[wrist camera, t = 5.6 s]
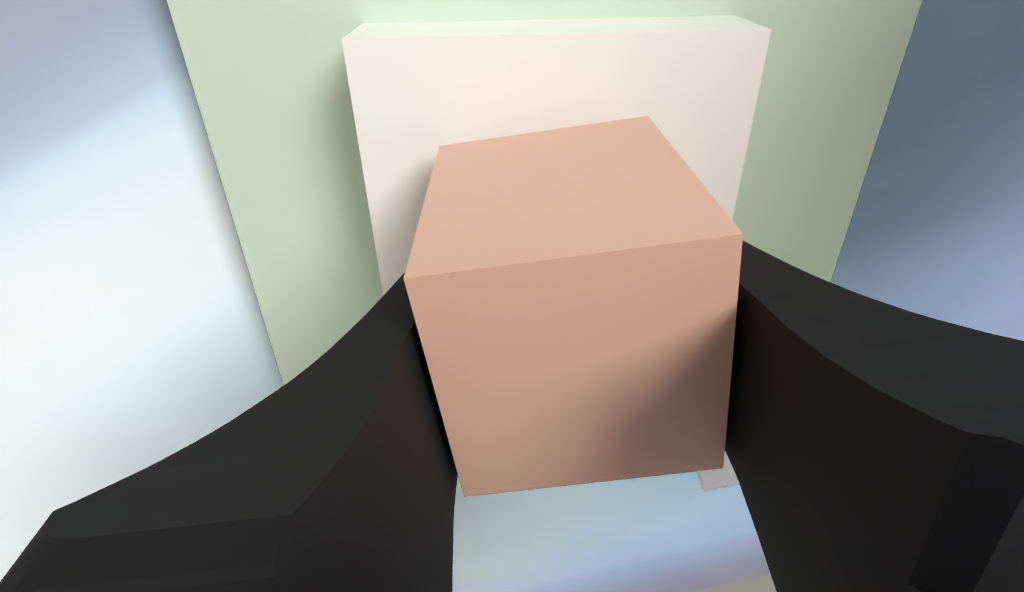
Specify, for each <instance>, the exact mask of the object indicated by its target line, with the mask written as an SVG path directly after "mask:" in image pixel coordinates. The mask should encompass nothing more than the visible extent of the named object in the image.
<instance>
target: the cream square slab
mask: <svg viewBox="0 0 1024 592" xmlns="http://www.w3.org/2000/svg"><path fill="white" fill-rule="evenodd" d="M771 30H772V29H769V28H767V27H764V26H762V25H759V24H756V23H754V22H751V21H748V20H746V19H743V18H740V17H738V16H735V15H723V16H678V17H633V18H589V19H544V20H499V21H454V22H409V23H364V24H361V25H360V26H358V27H357V28H356V29H354V30H353V31H352V32H350V33H349V34H348V35H346V36H345V37H343V38H342V39H341V40H342V46H343V52H344V58H345V64H346V70H347V76H348V83H349V89H350V95H351V101H352V107H353V113H354V119H355V125H356V132H357V138H358V144H359V150H360V156H361V162H362V168H363V174H364V181H365V187H366V193H367V199H368V205H369V211H370V217H371V223H372V230H373V236H374V242H375V248H376V254H377V260H378V266H379V272H380V279H381V285H382V291H383V295H384V294H385V293H386V292H387V291H388V290H389V289H390V288H391V287H392V286H393V284H394V283H395V282H396V281H397V280H398V279H399V278H400V277H401V276H402V274H403V273H404V272H405V271H406V267H407V264H408V260H409V256H410V252H411V249H412V245H413V241H414V237H415V234H416V230H417V226H418V222H419V219H420V215H421V211H422V208H423V204H424V200H425V196H426V193H427V189H428V185H429V181H430V178H431V174H432V170H433V166H434V163H435V159H436V155H437V152H438V148H439V146H441V145H448V144H455V143H462V142H469V141H476V140H483V139H490V138H497V137H504V136H511V135H518V134H525V133H532V132H539V131H546V130H553V129H559V128H566V127H573V126H580V125H587V124H594V123H601V122H608V121H615V120H622V119H629V118H636V117H643V116H649V118H650V119H651V120H652V121H653V123H654V124H655V125H656V126H657V128H658V129H659V130H660V131H661V133H662V134H663V135H664V136H665V138H666V139H667V140H668V141H669V143H670V144H671V145H672V146H673V148H674V149H675V150H676V151H677V153H678V154H679V155H680V156H681V157H682V159H683V160H684V161H685V162H686V164H687V165H688V166H689V167H690V169H691V170H692V171H693V172H694V174H695V175H696V176H697V177H698V179H699V180H700V181H701V182H702V184H703V185H704V186H705V187H706V189H707V190H708V191H709V192H710V194H711V195H712V196H713V197H714V198H715V200H716V201H717V202H718V203H719V205H720V206H721V207H722V208H723V210H724V211H725V212H726V213H727V215H728V216H729V217H730V218H731V220H732V219H733V214H734V209H735V205H736V200H737V195H738V190H739V185H740V180H741V175H742V171H743V166H744V161H745V156H746V151H747V146H748V141H749V137H750V132H751V127H752V122H753V117H754V112H755V107H756V103H757V98H758V93H759V88H760V83H761V78H762V73H763V68H764V64H765V59H766V54H767V49H768V44H769V39H770V34H771Z"/></svg>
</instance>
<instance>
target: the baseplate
mask: <svg viewBox="0 0 1024 592" xmlns="http://www.w3.org/2000/svg"><path fill="white" fill-rule="evenodd" d="M167 3H168V7H169V10H170V13H171V16H172V20H173V23H174V26H175V30H176V33H177V36H178V39H179V43H180V46H181V49H182V53H183V56H184V59H185V63H186V66H187V69H188V72H189V76H190V79H191V82H192V86H193V89H194V92H195V95H196V99H197V102H198V105H199V109H200V112H201V115H202V118H203V122H204V125H205V128H206V132H207V135H208V138H209V142H210V145H211V148H212V151H213V155H214V158H215V161H216V165H217V168H218V171H219V174H220V178H221V181H222V184H223V188H224V191H225V194H226V198H227V201H228V204H229V207H230V211H231V214H232V217H233V221H234V224H235V227H236V230H237V234H238V237H239V240H240V244H241V247H242V250H243V253H244V257H245V260H246V263H247V267H248V270H249V273H250V277H251V280H252V283H253V286H254V290H255V293H256V296H257V300H258V303H259V306H260V309H261V313H262V316H263V319H264V323H265V326H266V329H267V333H268V336H269V339H270V342H271V346H272V349H273V352H274V356H275V359H276V362H277V365H278V369H279V372H280V375H281V379H282V382H283V385H285V384H287V383H288V382H289V381H291V380H292V379H293V378H295V377H296V376H297V375H298V374H300V373H301V372H302V371H304V370H305V369H306V368H307V367H309V366H310V365H311V364H312V363H314V362H315V361H316V360H317V359H318V358H320V357H321V356H322V355H323V354H324V353H325V352H327V351H328V350H329V349H330V348H331V347H332V346H333V345H334V344H335V343H336V342H338V341H339V340H340V339H341V338H342V337H343V336H344V335H345V334H346V333H347V332H348V331H349V330H350V329H351V328H352V327H353V326H354V325H355V324H356V323H357V322H358V321H359V320H361V319H362V318H363V317H364V316H365V315H366V314H367V313H368V311H369V310H370V309H371V308H372V307H373V306H374V305H375V304H376V303H377V302H378V301H379V300H380V299H381V298H382V296H383V291H382V285H381V279H380V272H379V266H378V260H377V254H376V248H375V242H374V236H373V230H372V223H371V217H370V211H369V205H368V199H367V193H366V187H365V181H364V174H363V168H362V162H361V156H360V150H359V144H358V138H357V132H356V125H355V119H354V113H353V107H352V101H351V95H350V89H349V83H348V76H347V70H346V64H345V58H344V52H343V46H342V40H341V39H342V38H343V37H345V36H346V35H348V34H349V33H350V32H352V31H353V30H354V29H356V28H357V27H358V26H360V25H361V24H364V23H409V22H454V21H499V20H544V19H589V18H633V17H678V16H723V15H735V16H738V17H740V18H743V19H746V20H748V21H751V22H754V23H756V24H759V25H762V26H764V27H767V28H769V29H772V30H771V34H770V39H769V44H768V49H767V54H766V59H765V64H764V68H763V73H762V78H761V83H760V88H759V93H758V98H757V103H756V107H755V112H754V117H753V122H752V127H751V132H750V137H749V141H748V146H747V151H746V156H745V161H744V166H743V171H742V175H741V180H740V185H739V190H738V195H737V200H736V205H735V209H734V214H733V219H732V221H733V222H734V223H735V225H736V226H737V227H738V228H739V230H740V231H741V232H742V233H743V241H745V242H747V243H749V244H751V245H753V246H754V247H756V248H758V249H760V250H762V251H764V252H766V253H768V254H770V255H772V256H774V257H776V258H778V259H780V260H782V261H784V262H786V263H788V264H790V265H792V266H795V267H797V268H799V269H801V270H803V271H805V272H807V273H810V274H812V275H814V276H817V277H819V278H821V279H823V280H826V281H828V282H831V279H832V276H833V273H834V270H835V267H836V264H837V261H838V257H839V254H840V251H841V248H842V245H843V242H844V239H845V236H846V233H847V230H848V227H849V224H850V221H851V218H852V215H853V212H854V209H855V205H856V202H857V199H858V196H859V193H860V190H861V187H862V184H863V181H864V178H865V175H866V172H867V169H868V166H869V163H870V160H871V156H872V153H873V150H874V147H875V144H876V141H877V138H878V135H879V132H880V129H881V126H882V123H883V120H884V117H885V114H886V111H887V107H888V104H889V101H890V98H891V95H892V92H893V89H894V86H895V83H896V80H897V77H898V74H899V71H900V68H901V65H902V62H903V58H904V55H905V52H906V49H907V46H908V43H909V40H910V37H911V34H912V31H913V28H914V25H915V22H916V19H917V16H918V13H919V9H920V6H921V3H922V0H167Z"/></svg>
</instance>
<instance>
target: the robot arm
mask: <svg viewBox="0 0 1024 592" xmlns="http://www.w3.org/2000/svg"><path fill="white" fill-rule="evenodd" d="M404 275H405V272H404V273H403V274H402V276H401V277H400V278H399V279H398V280H397V281H396V282H395V283H394V284H393V286H392V287H391V288H390V289H389V290H388V291H387V292H386V293H385V294H384V295H383V296H382V298H381V299H380V300H379V301H378V302H377V303H376V304H375V305H374V306H373V307H372V308H371V309H370V310H369V311H368V313H367V314H366V315H365V316H364V317H363V318H362V319H361V320H359V321H358V322H357V323H356V324H355V325H354V326H353V327H352V328H351V329H350V330H349V331H348V332H347V333H346V334H345V335H344V336H343V337H342V338H341V339H340V340H339V341H338V342H336V343H335V344H334V345H333V346H332V347H331V348H330V349H329V350H328V351H327V352H325V353H324V354H323V355H322V356H321V357H320V358H318V359H317V360H316V361H315V362H314V363H312V364H311V365H310V366H309V367H307V368H306V369H305V370H304V371H302V372H301V373H300V374H298V375H297V376H296V377H295V378H293V379H292V380H291V381H289V382H288V383H287V384H285V385H284V386H283V387H281V388H280V389H278V390H277V391H275V392H274V393H272V394H271V395H269V396H268V397H266V398H265V399H263V400H262V401H260V402H259V403H257V404H256V405H254V406H253V407H251V408H250V409H248V410H247V411H245V412H244V413H242V414H241V415H239V416H238V417H236V418H235V419H233V420H232V421H230V422H229V423H227V424H225V425H224V426H222V427H220V428H219V429H217V430H215V431H213V432H212V433H210V434H208V435H207V436H205V437H203V438H201V439H200V440H198V441H196V442H194V443H193V444H191V445H189V446H187V447H185V448H183V449H181V450H180V451H178V452H176V453H174V454H172V455H170V456H169V457H167V458H165V459H163V460H161V461H159V462H157V463H155V464H153V465H151V466H149V467H147V468H145V469H143V470H141V471H139V472H137V473H135V474H133V475H131V476H129V477H127V478H124V479H122V480H120V481H118V482H116V483H114V484H112V485H110V486H107V487H105V488H103V489H101V490H99V491H97V492H95V493H93V494H90V495H88V496H86V497H84V498H82V499H80V500H78V501H76V502H73V503H71V504H69V505H66V506H64V507H62V508H60V509H57V510H55V511H53V512H52V513H51V515H50V516H49V518H48V519H47V520H46V522H45V523H44V524H43V526H42V527H41V528H40V530H39V531H38V532H37V534H36V535H35V536H34V538H33V539H32V540H31V542H30V543H29V544H28V546H27V547H26V548H25V550H24V551H23V552H22V554H21V555H20V556H19V558H18V559H17V560H16V562H15V563H14V564H13V566H12V567H11V568H10V570H9V571H8V572H7V574H6V575H5V576H4V578H3V579H2V580H1V582H0V592H452V565H453V520H454V504H455V492H456V484H457V476H458V473H457V469H456V465H455V462H454V458H453V455H452V451H451V448H450V444H449V440H448V437H447V433H446V430H445V426H444V422H443V419H442V415H441V412H440V408H439V404H438V401H437V397H436V394H435V390H434V387H433V383H432V379H431V376H430V372H429V369H428V365H427V361H426V358H425V354H424V351H423V347H422V343H421V340H420V336H419V333H418V329H417V325H416V322H415V318H414V315H413V311H412V308H411V304H410V300H409V297H408V293H407V290H406V286H405V282H404ZM725 452H726V454H727V456H728V458H729V460H730V462H731V465H732V467H733V469H734V472H735V474H736V476H737V479H738V481H739V484H740V486H741V489H742V492H743V495H744V498H745V500H746V503H747V506H748V509H749V512H750V514H751V517H752V520H753V523H754V526H755V529H756V531H757V534H758V537H759V540H760V543H761V546H762V549H763V552H764V555H765V558H766V561H767V564H768V567H769V570H770V573H771V576H772V579H773V582H774V585H775V588H776V591H777V592H1024V341H1021V340H1016V339H1012V338H1007V337H1003V336H998V335H994V334H990V333H986V332H982V331H978V330H974V329H971V328H967V327H963V326H959V325H955V324H952V323H948V322H944V321H940V320H936V319H933V318H930V317H926V316H923V315H920V314H916V313H913V312H910V311H906V310H903V309H901V308H898V307H895V306H892V305H889V304H886V303H883V302H880V301H877V300H874V299H871V298H868V297H866V296H863V295H860V294H858V293H855V292H852V291H850V290H847V289H845V288H842V287H840V286H837V285H835V284H833V283H830V282H828V281H826V280H823V279H821V278H819V277H817V276H814V275H812V274H810V273H807V272H805V271H803V270H801V269H799V268H797V267H795V266H792V265H790V264H788V263H786V262H784V261H782V260H780V259H778V258H776V257H774V256H772V255H770V254H768V253H766V252H764V251H762V250H760V249H758V248H756V247H754V246H753V245H751V244H749V243H747V242H745V241H742V253H741V264H740V276H739V288H738V300H737V312H736V323H735V335H734V347H733V359H732V370H731V382H730V394H729V406H728V418H727V429H726V441H725Z"/></svg>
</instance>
